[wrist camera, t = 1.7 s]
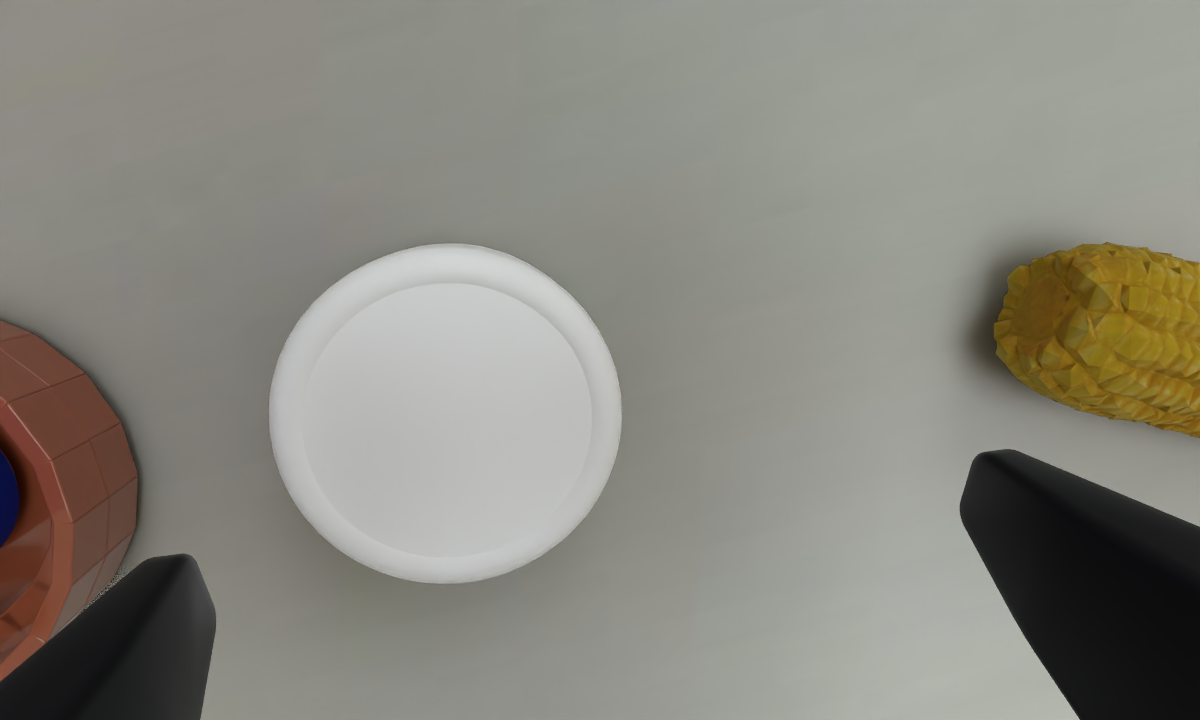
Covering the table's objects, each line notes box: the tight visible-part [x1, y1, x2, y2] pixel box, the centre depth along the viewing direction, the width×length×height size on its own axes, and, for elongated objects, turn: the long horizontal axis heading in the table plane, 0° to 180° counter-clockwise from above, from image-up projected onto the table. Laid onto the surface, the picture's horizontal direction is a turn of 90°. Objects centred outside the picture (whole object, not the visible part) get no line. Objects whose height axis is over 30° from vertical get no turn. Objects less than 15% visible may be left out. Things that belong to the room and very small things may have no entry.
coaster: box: [269, 243, 622, 584], centre depth 22 cm, size 10×10×4 cm
